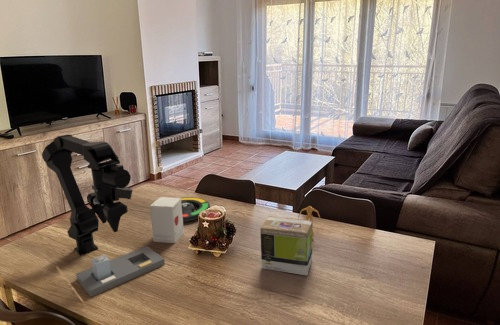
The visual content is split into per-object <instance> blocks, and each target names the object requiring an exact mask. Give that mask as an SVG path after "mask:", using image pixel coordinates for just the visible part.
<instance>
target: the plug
mask: <svg viewBox="0 0 500 325" xmlns="http://www.w3.org/2000/svg"><path fill="white" fill-rule="evenodd" d="M90 261H91V266H92V267H91V268H93V274H94V279H95V280H96V281H99V280H101V279H104V278H106V277H108V276H111V275H112V274H111V267H110V259H109V258H108V256H107V255H105V254H102V255H99V256H96V257H94V258H92V259H91V260H90Z"/></svg>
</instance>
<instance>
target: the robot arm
mask: <svg viewBox="0 0 500 325" xmlns="http://www.w3.org/2000/svg"><path fill="white" fill-rule="evenodd" d="M43 149H44V150H43V151H42V153H41V157H42V160H43V161H44V162H45V164H46V166H47V167H48V169H50V170H51V171H53V172H54V173H55V175H56V177H57V179H58V181H59V183H60V186H61V189H62V192H63V193H64V195H65V196H64V197H65V199H66V201H67V204H68V206H69V209H70V210H71V211H70V217H69V222H70V226H69V228H68V230H67V235H68V237H69V238H70V239H73V240H75V243H76V247H74V251H75V252H76V253H77V254H78V255H79V256H83V255H86V254H89V253H91V252H94V251H97V250H99V246H97V245H96V244H95V240H94V236H93V234H94V233H96V232H98V231H99V221H100V222H101V224H109V227H110V228H111V230H112V231H113V233H117V232H118V230H119V225H120V221H121V217H122V216H124V215H126V214H127V213H128V212H129V210H128V206H127V205H126V204H125V203H123V202H121V201H119V200H120V199H127V200H131V199H132V194H133V189H131V188H130V187H128V186H129V184H130V182H131V178H132V177H131V174H130V172H129V171H128V170H127V169H124V165H123V164H121V162H120V160H119V156H118V155H117V154H116V153H115V151H114V149H113V147H112V146H111V145H110V144H109V143H108V142H106V141H95V142H94V141H93V142H92V141H89V140H85V139H82V138H78V137H76V136H73V135H72V134H69V133H68V134H67V133H66V134H62V135H57V136H56V137H55V138H54V139H53V141H51V142H50V143H49V144H47V145H46V146H45V147H44V148H43ZM73 153H75V154H78V155H80V156H83V160H84V161H86V162H88V163H89V164H88V165H87V169H90V170H91V176H92V182H93V185H92V186H91V188H92V190H93V191H94V192H90V193H88V195H87V196H86V201H87V203H88V204H89V207H88V206H87V205H86V203H85V201H84V197H83V195H82V192H81V190H80V188H79V185H78V183H77V180H76V178H75V175H74V174H73V171H72V168H71V167H72V162H73V157H72V154H73Z"/></svg>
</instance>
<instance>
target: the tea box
mask: <svg viewBox="0 0 500 325" xmlns="http://www.w3.org/2000/svg"><path fill="white" fill-rule="evenodd" d="M259 229H260V230H259V231H260V258H261V260H260V262H261V269H263V270H271V271H277V272H284V273H290V274H294V275H295V274H296V275H299V276H300V275H301V276H306V277H307V276H308V274H309V271H310V267H311V265H312V261H313V237H312V233H313V231H314V229H313V221H312V220H310V219H308V220H306V219H305V218H304V219H302V218H292V217H285V216H284V217H283V216H273V215H268V217H267V218H266V220H265V221H264V222H263V224H262V225H261V226H260V228H259Z"/></svg>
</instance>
